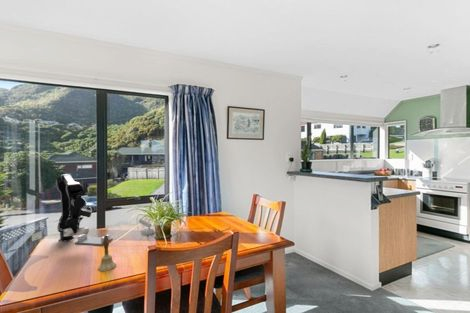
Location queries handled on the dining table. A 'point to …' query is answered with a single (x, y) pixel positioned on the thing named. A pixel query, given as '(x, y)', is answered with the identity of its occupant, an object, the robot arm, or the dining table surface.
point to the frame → (79, 231)
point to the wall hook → (147, 229)
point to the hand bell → (106, 258)
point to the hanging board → (91, 240)
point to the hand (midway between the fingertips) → (76, 232)
